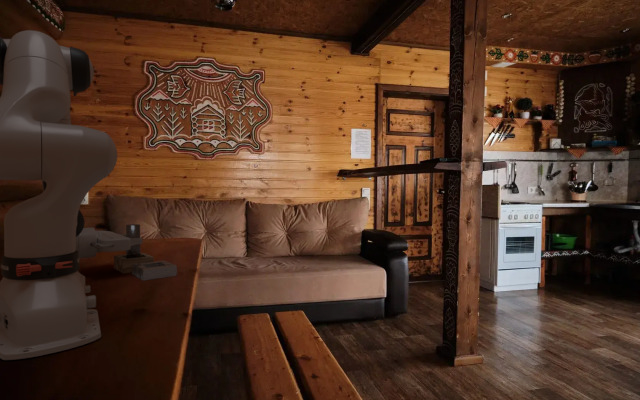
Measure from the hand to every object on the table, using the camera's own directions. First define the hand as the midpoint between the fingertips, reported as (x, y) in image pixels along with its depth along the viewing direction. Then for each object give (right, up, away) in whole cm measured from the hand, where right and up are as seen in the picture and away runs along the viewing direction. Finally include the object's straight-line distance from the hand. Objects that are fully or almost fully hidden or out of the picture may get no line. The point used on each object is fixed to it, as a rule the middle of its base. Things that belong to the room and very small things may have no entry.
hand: (136, 238), depth 123 cm
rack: (-1, -10, 0) cm, 10 cm away
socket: (+9, -10, -8) cm, 15 cm away
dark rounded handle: (-1, -10, 0) cm, 10 cm away
